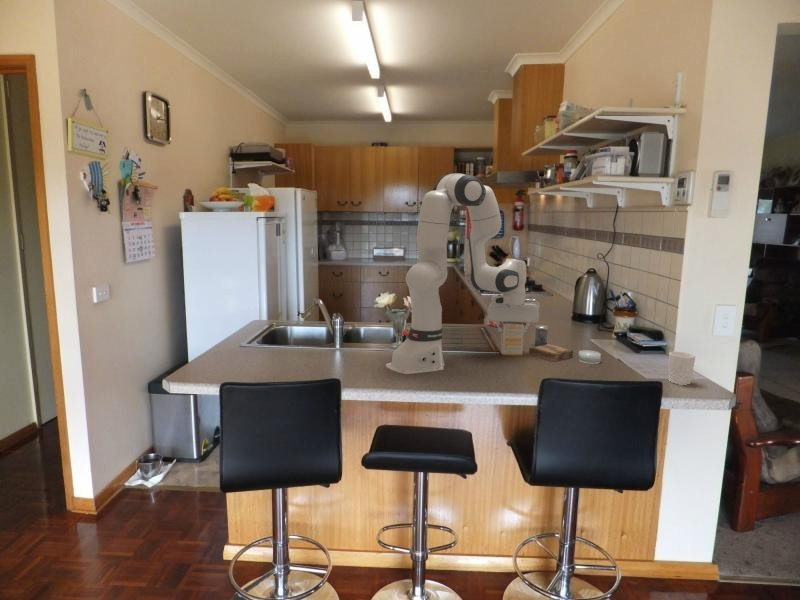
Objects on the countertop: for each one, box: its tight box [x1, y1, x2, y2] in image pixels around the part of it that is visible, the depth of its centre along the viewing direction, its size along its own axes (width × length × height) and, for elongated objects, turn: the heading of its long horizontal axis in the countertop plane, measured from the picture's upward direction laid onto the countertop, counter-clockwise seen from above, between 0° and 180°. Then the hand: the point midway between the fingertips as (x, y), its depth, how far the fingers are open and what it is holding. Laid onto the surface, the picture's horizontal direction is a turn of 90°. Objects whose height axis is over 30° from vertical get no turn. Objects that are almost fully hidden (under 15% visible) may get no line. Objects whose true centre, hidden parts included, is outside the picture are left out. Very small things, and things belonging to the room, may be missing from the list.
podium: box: [528, 343, 574, 363], centre depth 210 cm, size 12×12×3 cm
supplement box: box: [499, 322, 525, 356], centre depth 211 cm, size 8×5×13 cm, turn 90°
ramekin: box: [578, 349, 602, 365], centre depth 204 cm, size 8×8×4 cm
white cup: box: [667, 350, 696, 385], centre depth 179 cm, size 8×8×10 cm
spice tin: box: [534, 324, 549, 347], centre depth 225 cm, size 5×5×9 cm
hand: (512, 332), depth 211 cm, fingers closed on supplement box, 8 cm apart
